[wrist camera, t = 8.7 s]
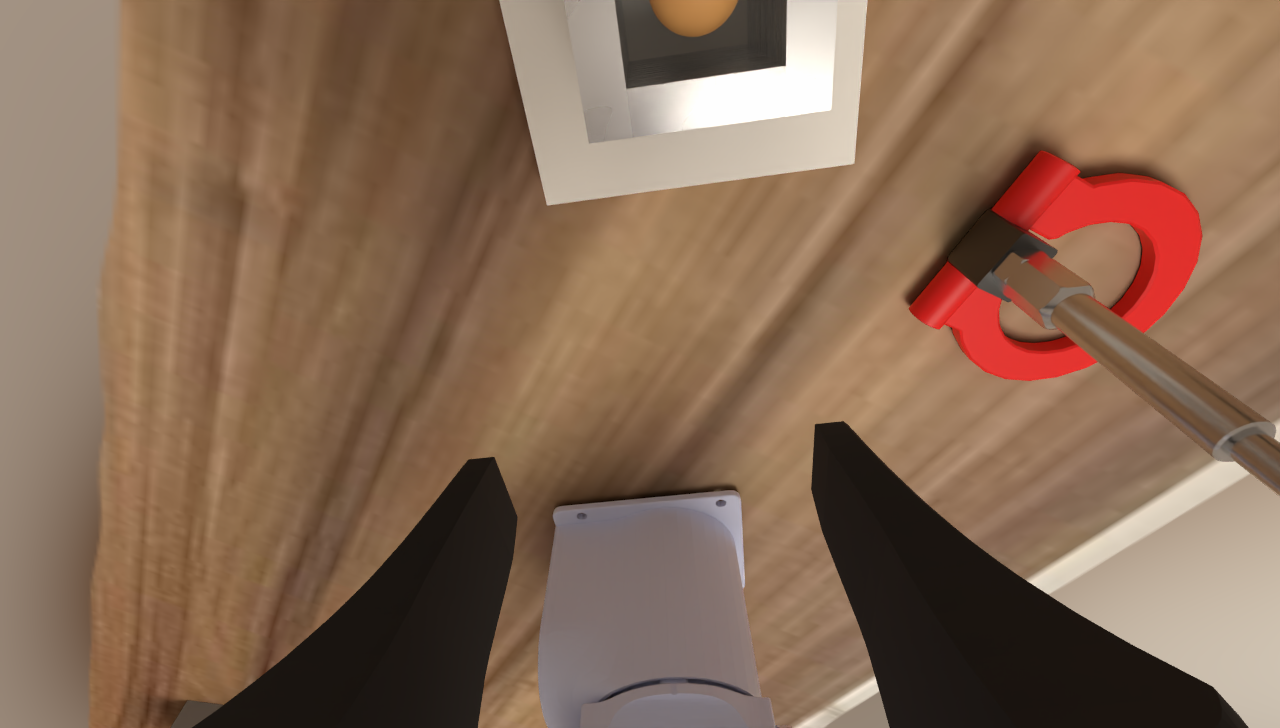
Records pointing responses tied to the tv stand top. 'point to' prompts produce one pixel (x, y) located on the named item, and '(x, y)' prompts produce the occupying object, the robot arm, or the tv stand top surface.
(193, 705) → the dice cube
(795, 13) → the hollow square tube
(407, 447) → the tv stand top surface
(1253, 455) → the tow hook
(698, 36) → the plate
